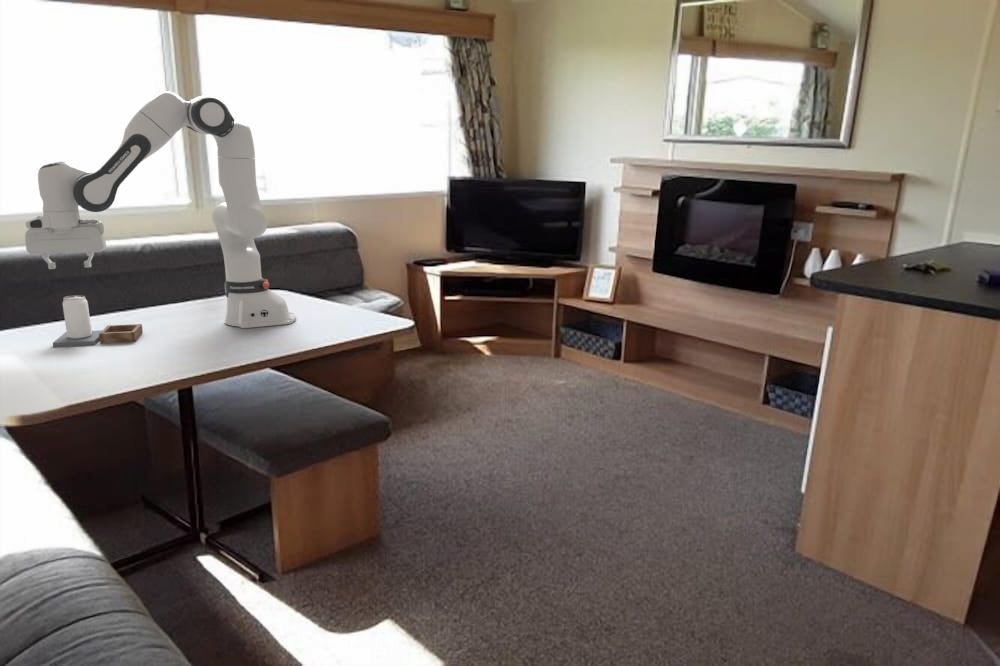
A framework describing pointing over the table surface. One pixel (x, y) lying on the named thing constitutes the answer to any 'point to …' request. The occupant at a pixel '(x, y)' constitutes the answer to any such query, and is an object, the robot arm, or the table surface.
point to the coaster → (77, 340)
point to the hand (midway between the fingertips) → (70, 267)
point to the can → (77, 317)
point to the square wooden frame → (121, 333)
